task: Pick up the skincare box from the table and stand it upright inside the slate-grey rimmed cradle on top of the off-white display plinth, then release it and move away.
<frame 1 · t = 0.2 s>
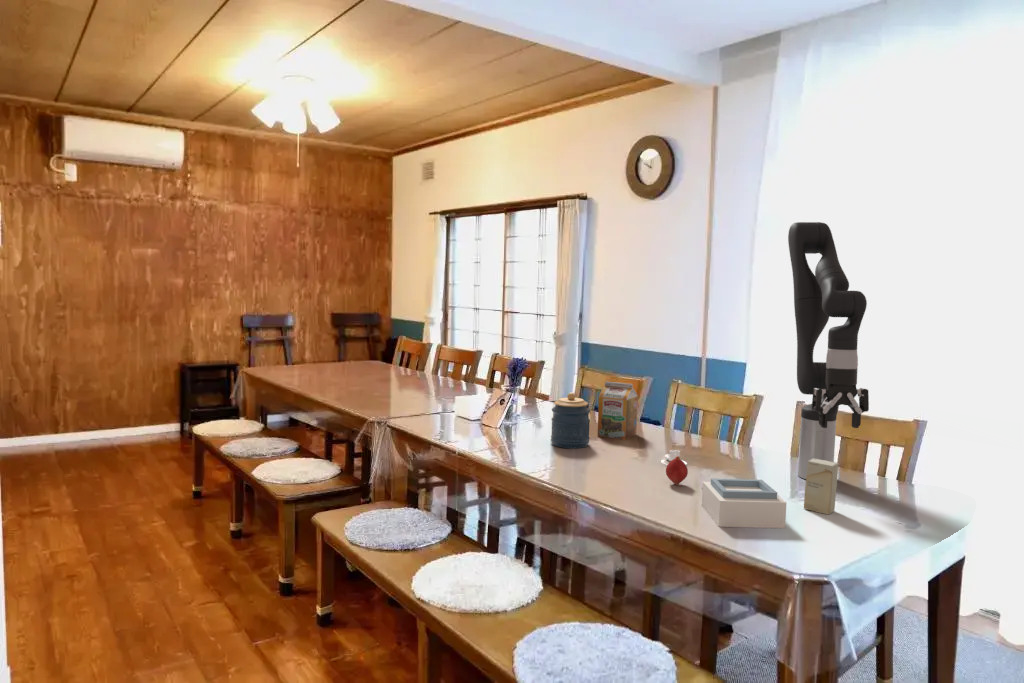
hand: (839, 427, 184), 18 cm above the table, tool pointing down, fingers open, 8 cm apart
canister: (570, 445, 234), on the table
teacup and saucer: (680, 463, 215), on the table
milk carton: (617, 435, 250), on the table
onion: (676, 485, 190), on the table
display plinth: (741, 516, 165), on the table
skincare box: (819, 510, 171), on the table
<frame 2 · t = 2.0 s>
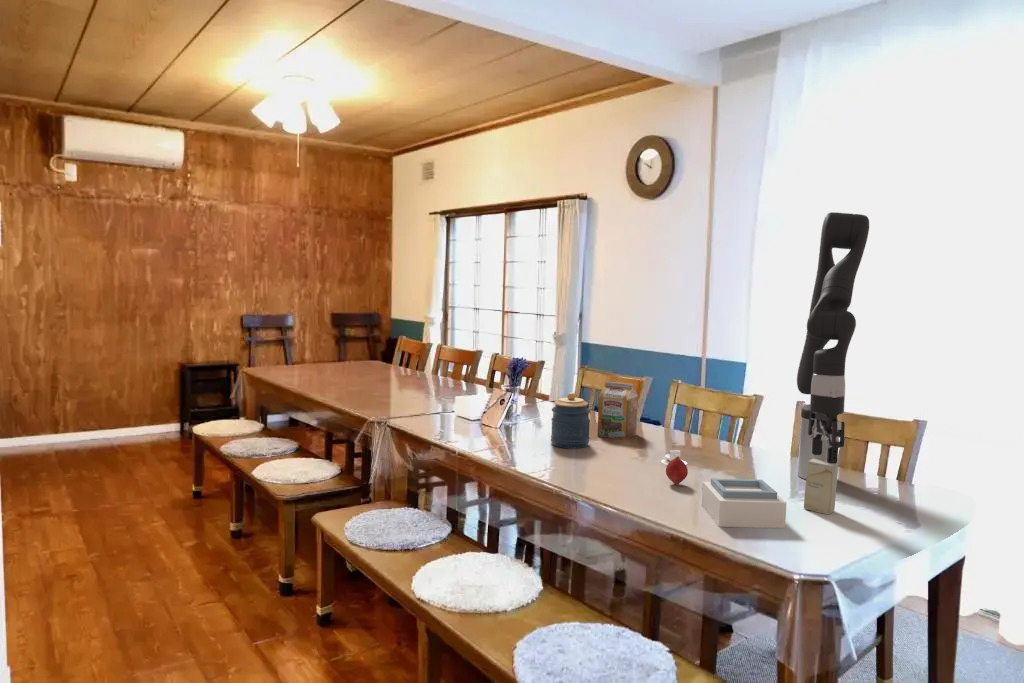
hand: (824, 458, 169), 13 cm above the table, tool pointing down, fingers open, 8 cm apart
nothing on the table moved.
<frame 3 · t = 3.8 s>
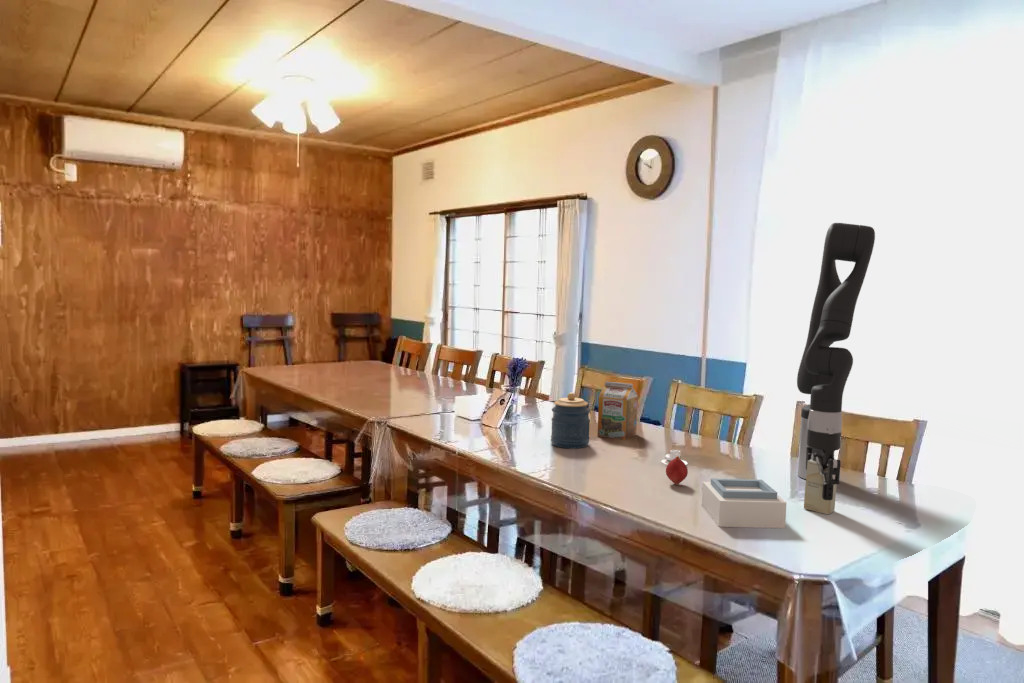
hand: (820, 494, 170), 4 cm above the table, tool pointing down, fingers closed on skincare box, 7 cm apart
skincare box: (819, 510, 171), on the table, touching gripper
everything else where it was.
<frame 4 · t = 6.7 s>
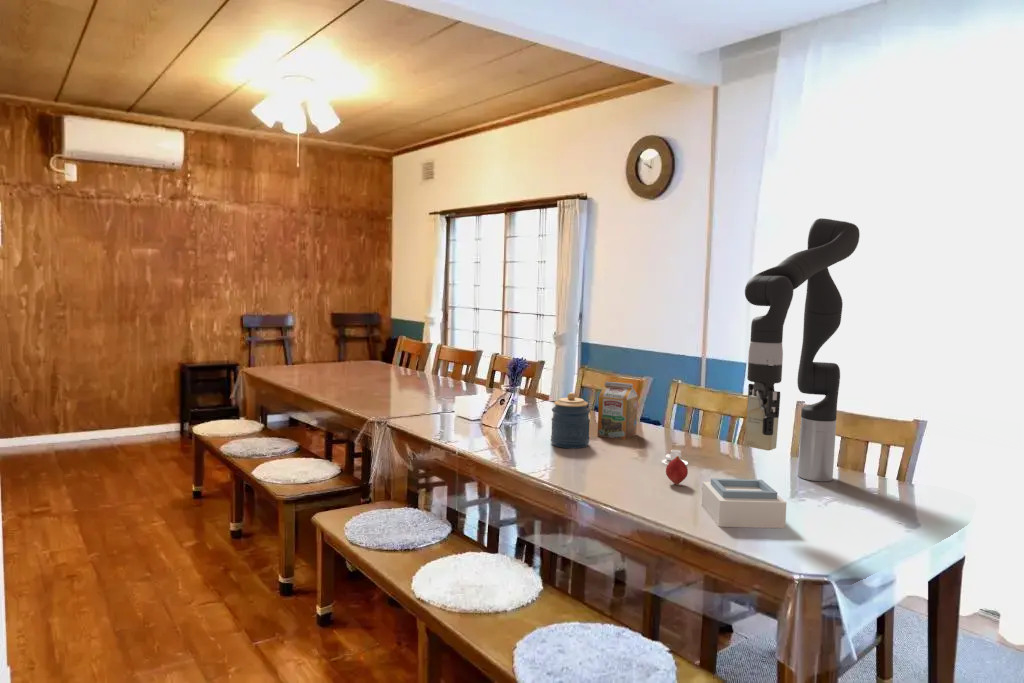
hand: (761, 431, 163), 21 cm above the table, tool pointing down, fingers closed on skincare box, 7 cm apart
skincare box: (760, 448, 164), point 16 cm above the table, touching gripper
everything else where it was.
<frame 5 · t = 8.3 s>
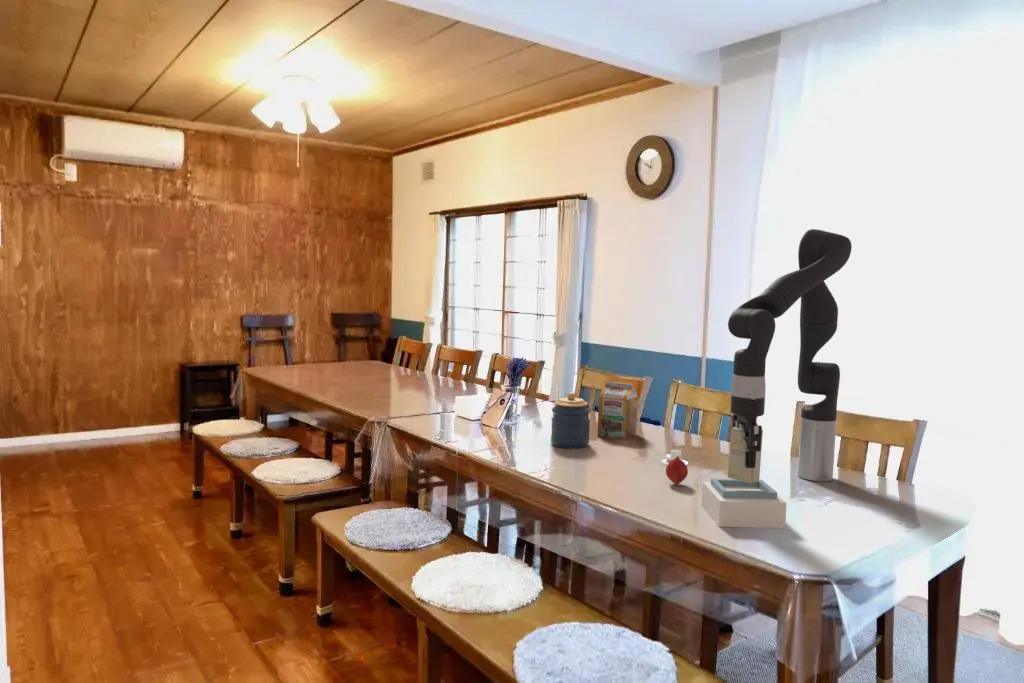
hand: (744, 463, 164), 13 cm above the table, tool pointing down, fingers closed on skincare box, 7 cm apart
skincare box: (744, 479, 164), point 9 cm above the table, touching gripper
everything else where it was.
when the fingers open (12 cm above the table, at t = 9.6 s): skincare box drops 2 cm, resting on display plinth.
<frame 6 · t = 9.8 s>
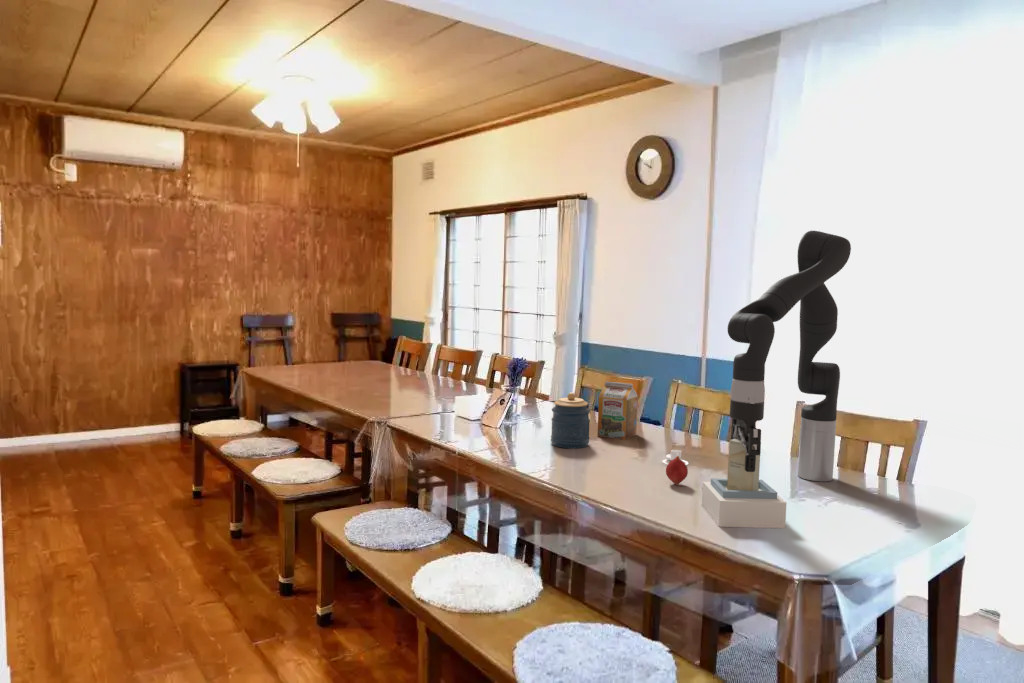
hand: (743, 466, 164), 12 cm above the table, tool pointing down, fingers open, 8 cm apart
skincare box: (743, 491, 165), point 6 cm above the table, touching display plinth
everything else where it was.
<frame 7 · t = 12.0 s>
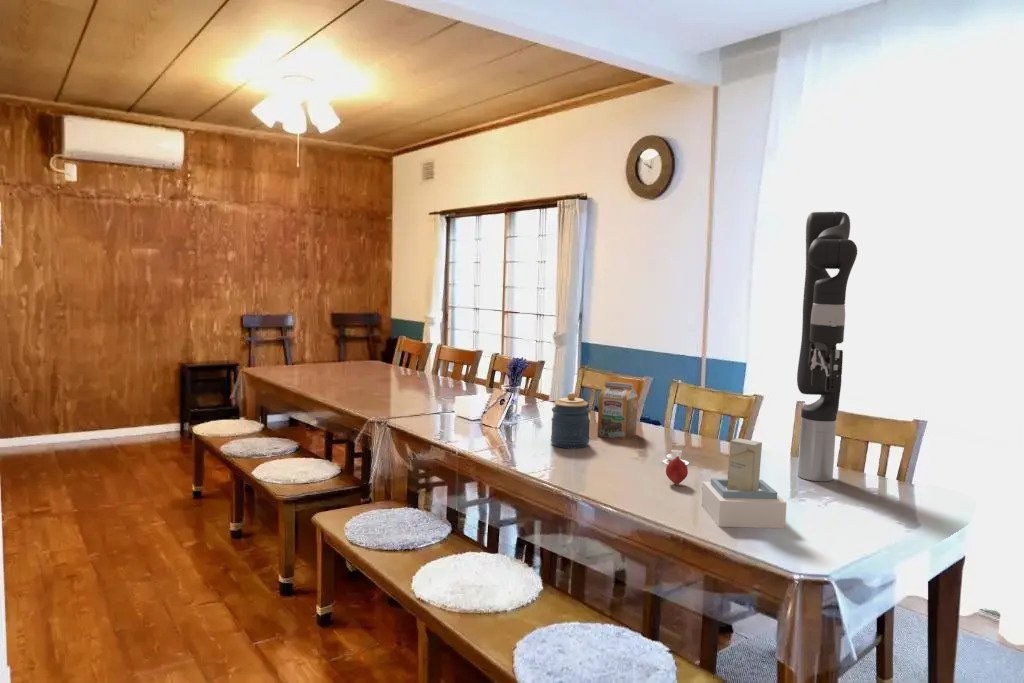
hand: (822, 388, 170), 30 cm above the table, tool pointing down, fingers open, 8 cm apart
nothing on the table moved.
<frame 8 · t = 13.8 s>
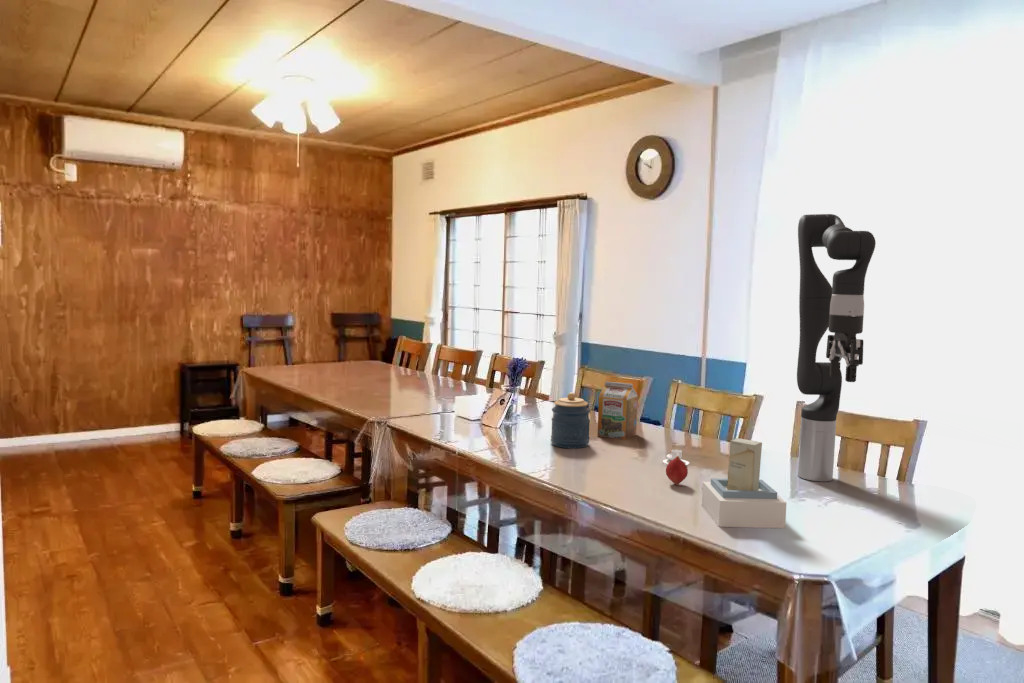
hand: (842, 379, 171), 32 cm above the table, tool pointing down, fingers open, 8 cm apart
nothing on the table moved.
at the end: skincare box inside the target area on the display plinth (0.1 cm from its centre), point 5.8 cm above the display plinth's base; skincare box tilted 0°; the gripper is holding nothing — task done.
